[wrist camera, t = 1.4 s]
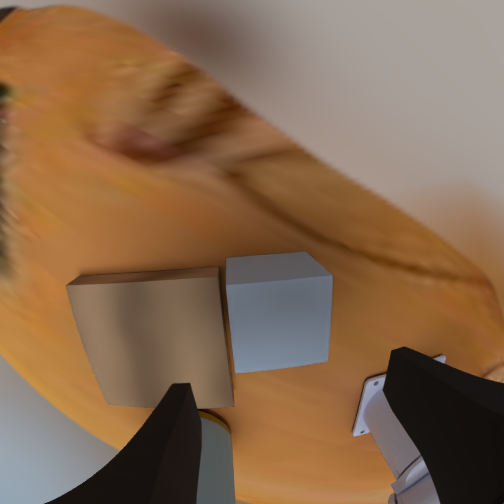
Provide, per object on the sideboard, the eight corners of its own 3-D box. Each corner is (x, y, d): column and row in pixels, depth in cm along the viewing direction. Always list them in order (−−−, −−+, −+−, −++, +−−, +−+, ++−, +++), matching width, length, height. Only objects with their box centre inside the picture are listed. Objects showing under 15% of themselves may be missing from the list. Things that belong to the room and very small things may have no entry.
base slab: (218, 266, 17) (217, 276, 15) (233, 389, 20) (234, 406, 18) (79, 276, 17) (65, 285, 15) (114, 389, 19) (107, 404, 17)
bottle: (144, 403, 19) (104, 559, 5) (226, 403, 20) (235, 577, 5) (164, 449, 21) (147, 576, 7) (234, 449, 22) (246, 584, 7)
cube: (305, 251, 18) (332, 275, 13) (305, 321, 19) (327, 361, 14) (226, 257, 17) (225, 285, 12) (233, 328, 18) (235, 373, 14)
